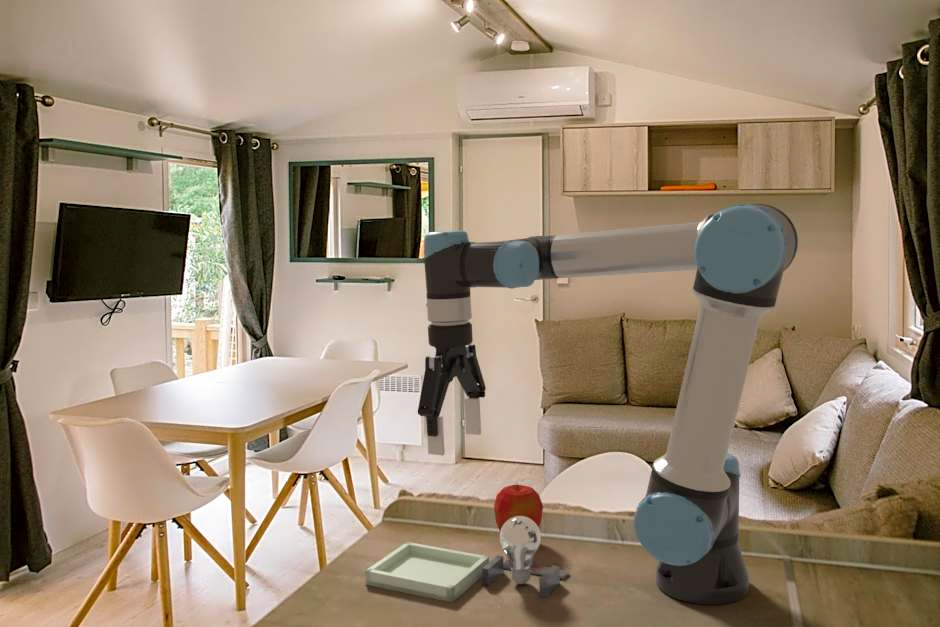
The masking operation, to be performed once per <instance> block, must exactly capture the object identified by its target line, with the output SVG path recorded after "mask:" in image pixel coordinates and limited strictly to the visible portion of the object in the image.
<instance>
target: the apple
mask: <svg viewBox="0 0 940 627" xmlns="http://www.w3.org/2000/svg"><path fill="white" fill-rule="evenodd" d="M493 503H494V504H493V509H494V516H495V523H496V526H497V528H498V531H499V533H500V532H501V528H502V526H503V525H504V523H505V522H506V521H507V520H509V519H510V518H512V517H514V516H526V517H528V518H530V519H531V520H533V521H534V522H535V523H536V524H537V526H538V528H540V525H541V523H542V518H543V511H544V510H543V509H544V505H543V502H542V500H541V496H540V494H539V493H538V492H537V491H536V490H535V489H534V488H533V487H531V486H529V485H522V484H518V482H516V484H512V485H507V486H504V487H503V488H502V489H501V490H499V492H498V493H497V494H496V496H495V501H494V502H493Z"/></svg>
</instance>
